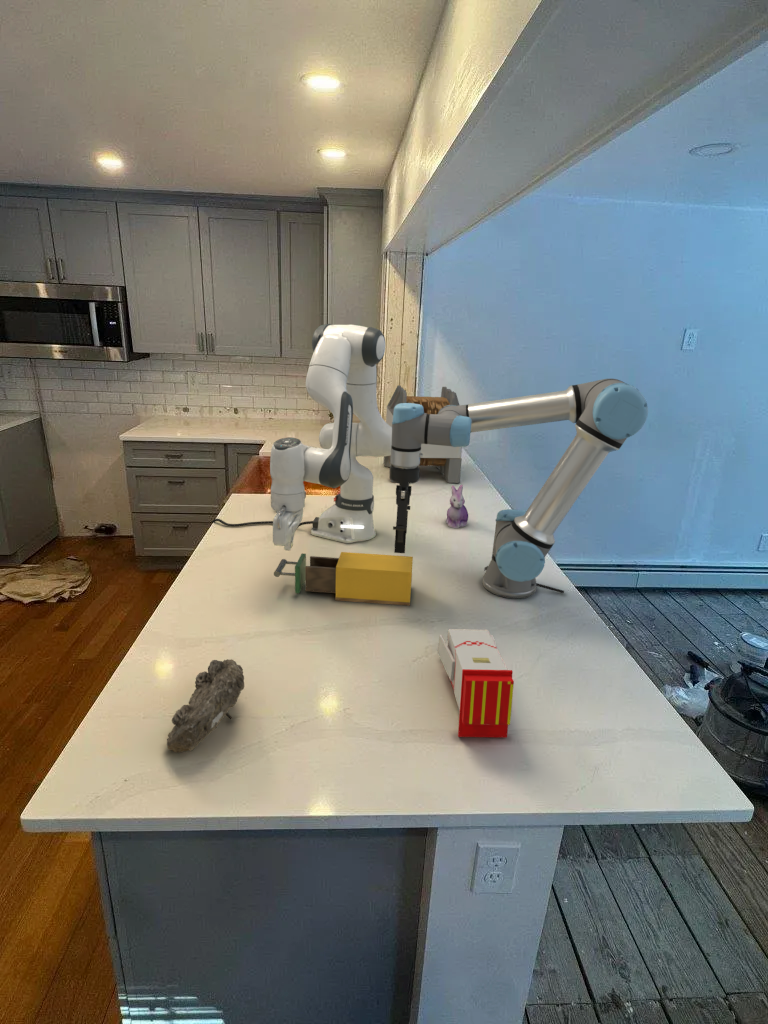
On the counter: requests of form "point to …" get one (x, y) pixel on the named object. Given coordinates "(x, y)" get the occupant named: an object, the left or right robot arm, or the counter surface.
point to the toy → (478, 682)
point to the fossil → (206, 705)
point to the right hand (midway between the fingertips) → (400, 542)
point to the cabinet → (374, 578)
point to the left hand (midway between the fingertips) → (288, 548)
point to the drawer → (312, 573)
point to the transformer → (432, 454)
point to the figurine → (457, 509)
